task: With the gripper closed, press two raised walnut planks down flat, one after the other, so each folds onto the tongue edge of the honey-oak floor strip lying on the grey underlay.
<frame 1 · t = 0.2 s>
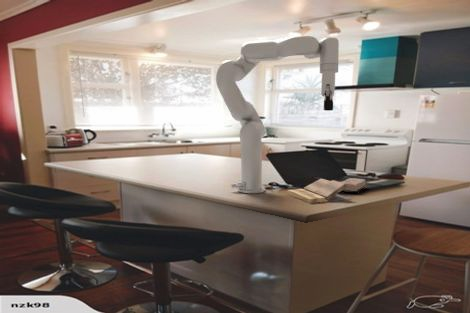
hand: (328, 110, 148), 36 cm above the countertop, fingers open, 9 cm apart
underlay mat: (318, 196, 149), on the countertop
plank a: (330, 189, 145), point 4 cm above the countertop, hinge at 28.0°
brick: (351, 190, 162), on the countertop
laid board: (305, 197, 147), on the countertop
plank b: (318, 186, 154), point 3 cm above the countertop, hinge at 22.0°
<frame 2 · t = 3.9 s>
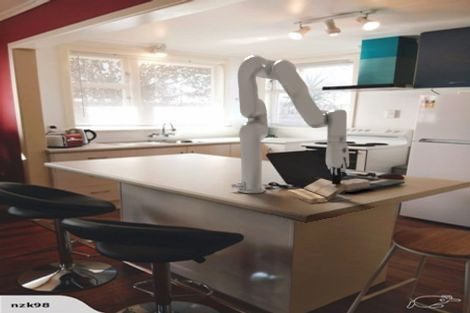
hand: (336, 184, 146), 6 cm above the countertop, fingers closed
plank a: (330, 190, 145), point 3 cm above the countertop, hinge at 24.1°, touching gripper
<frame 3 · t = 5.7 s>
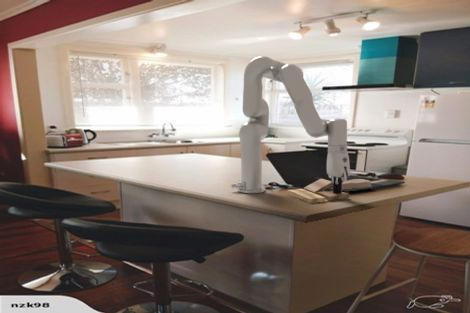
hand: (337, 193, 146), 2 cm above the countertop, fingers closed
plank a: (332, 194, 146), point 1 cm above the countertop, hinge at 1.1°, touching gripper
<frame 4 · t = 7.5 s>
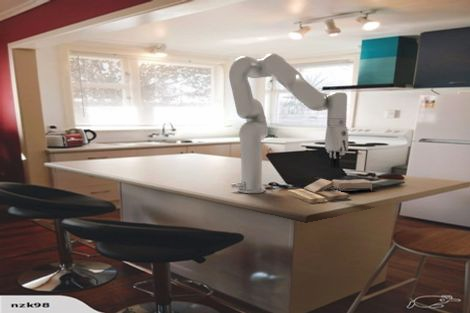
hand: (334, 167, 145), 13 cm above the countertop, fingers closed
plank a: (332, 195, 146), point 1 cm above the countertop, hinge at 0.8°
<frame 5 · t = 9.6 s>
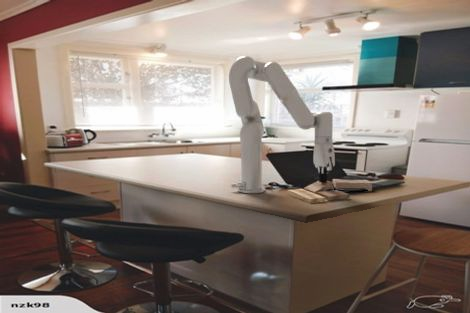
hand: (323, 182, 154), 5 cm above the countertop, fingers closed
plank b: (318, 186, 154), point 3 cm above the countertop, hinge at 19.6°, touching gripper
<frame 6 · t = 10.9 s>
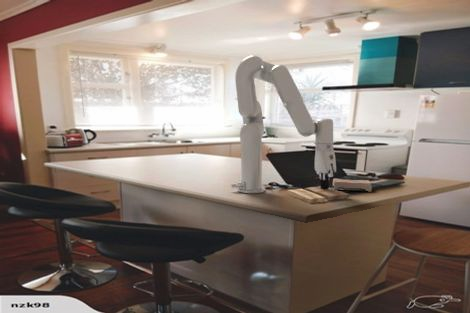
hand: (324, 188, 155), 2 cm above the countertop, fingers closed
plank b: (319, 190, 154), point 1 cm above the countertop, hinge at 1.2°, touching gripper
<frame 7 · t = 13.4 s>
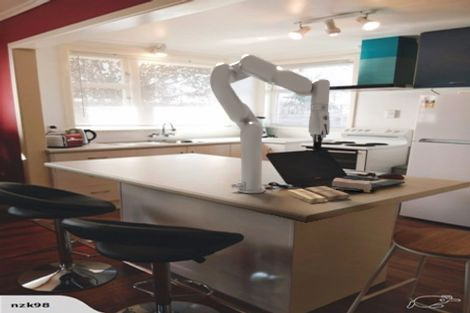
hand: (317, 150, 154), 19 cm above the countertop, fingers closed
plank b: (319, 190, 154), point 1 cm above the countertop, hinge at 0.8°
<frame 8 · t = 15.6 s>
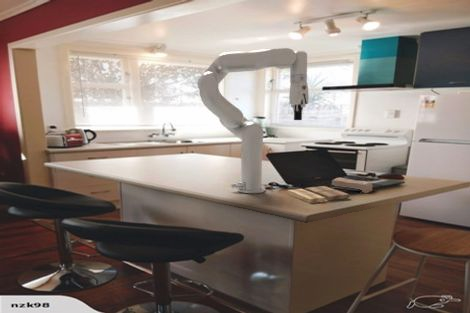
hand: (297, 120, 162), 32 cm above the countertop, fingers closed
at the end: plank a at +1° (first picture: +28°); plank b at +1° (first picture: +22°) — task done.
